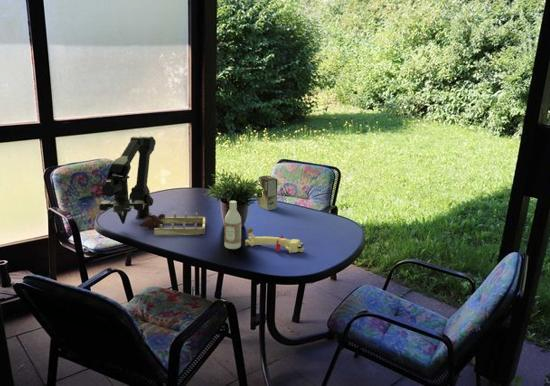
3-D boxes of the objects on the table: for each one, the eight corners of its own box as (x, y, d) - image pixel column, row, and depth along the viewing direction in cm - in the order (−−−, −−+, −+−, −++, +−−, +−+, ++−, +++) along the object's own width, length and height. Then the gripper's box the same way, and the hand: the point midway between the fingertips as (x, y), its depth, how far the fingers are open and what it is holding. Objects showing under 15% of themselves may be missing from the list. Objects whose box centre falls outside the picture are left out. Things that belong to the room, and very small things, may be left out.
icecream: (146, 222, 213) (170, 216, 226) (135, 215, 216) (159, 209, 229) (143, 236, 215) (167, 229, 228) (132, 228, 219) (156, 221, 231)
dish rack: (158, 223, 230) (157, 213, 229) (205, 222, 233) (205, 212, 231) (154, 235, 216) (154, 224, 214) (204, 234, 219) (204, 224, 217)
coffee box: (277, 208, 255) (278, 179, 251) (267, 210, 252) (268, 180, 247) (267, 203, 262) (267, 175, 258) (257, 205, 259) (257, 176, 254)
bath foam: (221, 248, 205) (221, 203, 199) (228, 242, 211) (228, 198, 205) (237, 250, 203) (237, 205, 197) (243, 244, 209) (243, 200, 204)
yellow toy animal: (243, 251, 206) (300, 256, 198) (242, 231, 204) (300, 236, 196) (251, 242, 215) (306, 246, 208) (250, 224, 213) (306, 227, 205)
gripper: (95, 196, 207) (97, 230, 212) (140, 195, 209) (142, 229, 214) (100, 188, 217) (103, 221, 222) (143, 188, 220) (145, 220, 224)
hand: (123, 223), depth 220 cm, fingers closed
